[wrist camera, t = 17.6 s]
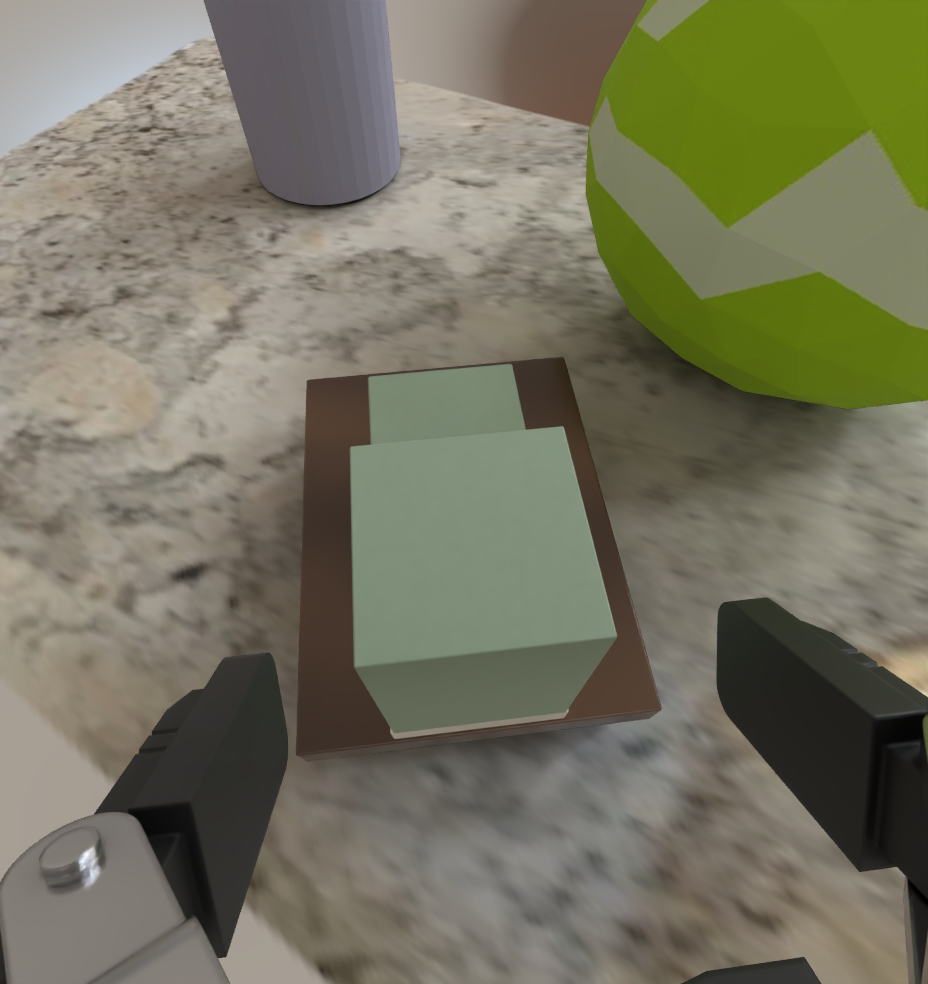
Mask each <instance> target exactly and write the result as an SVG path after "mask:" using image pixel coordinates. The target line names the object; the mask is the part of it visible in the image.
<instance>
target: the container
mask: <svg viewBox="0 0 928 984" xmlns="http://www.w3.org/2000/svg"><path fill="white" fill-rule="evenodd" d="M204 2H205V6H206V10H207V13H208V16H209V19H210V22H211V26H212V29H213V32H214V36H215V39H216V42H217V45H218V49H219V52H220V55H221V58H222V62H223V65H224V68H225V71H226V75H227V78H228V81H229V84H230V87H231V91H232V94H233V97H234V100H235V104H236V107H237V110H238V113H239V117H240V120H241V123H242V126H243V130H244V133H245V136H246V139H247V143H248V146H249V149H250V152H251V156H252V159H253V162H254V165H255V169H256V172H257V175H258V177H259V180H260V182H261V184H262V185H263V186H264V187H265V188H266V189H267V190H268V191H270V192H271V193H273V194H274V195H276V196H278V197H280V198H283V199H285V200H288V201H292V202H296V203H300V204H309V205H333V204H340V203H347V202H351V201H354V200H358V199H361V198H363V197H366V196H368V195H370V194H373V193H374V192H376V191H378V190H379V189H381V188H383V187H384V186H385V185H386V184H387V183H389V182H390V181H391V180H392V179H393V177H394V176H395V175H396V173H397V172H398V169H399V166H400V146H399V136H398V125H397V115H396V104H395V94H394V83H393V73H392V62H391V52H390V43H389V42H390V41H389V32H388V21H387V11H386V0H204Z"/></svg>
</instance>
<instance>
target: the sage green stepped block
mask: <svg viewBox="0 0 928 984" xmlns="http://www.w3.org/2000/svg"><path fill="white" fill-rule="evenodd" d="M368 394H369V418H370V442H371V445H363V446H353V447H350V493H351V547H352V600H353V654H354V668H355V670H356V672H357V673H358V675H359V676H360V678H361V680H362V681H363V683H364V685H365V686H366V688H367V690H368V691H369V693H370V695H371V696H372V698H373V700H374V701H375V703H376V705H377V706H378V708H379V709H380V711H381V713H382V714H383V716H384V718H385V719H386V721H387V723H388V724H389V726H390V733H391V735H392V736H393V738H394V739H400V738H408V737H416V736H424V735H432V734H440V733H448V732H456V731H464V730H472V729H481V728H489V727H497V726H505V725H513V724H521V723H529V722H537V721H545V720H553V719H561V718H564V717H565V716H566V715H567V713H568V711H569V709H568V708H569V707H570V705H571V704H572V702H573V701H574V699H575V698H576V696H577V695H578V693H579V692H580V691H581V689H582V688H583V686H584V685H585V683H586V682H587V680H588V679H589V677H590V676H591V675H592V673H593V672H594V670H595V669H596V667H597V666H598V664H599V663H600V661H601V660H602V658H603V657H604V656H605V654H606V653H607V651H608V650H609V648H610V647H611V645H612V644H613V642H614V641H615V640H616V638H617V633H616V629H615V625H614V621H613V618H612V614H611V610H610V606H609V602H608V598H607V594H606V590H605V586H604V582H603V579H602V575H601V571H600V567H599V563H598V559H597V555H596V551H595V547H594V543H593V540H592V536H591V532H590V528H589V524H588V520H587V516H586V512H585V508H584V504H583V500H582V497H581V493H580V489H579V485H578V481H577V477H576V473H575V469H574V465H573V461H572V458H571V454H570V450H569V446H568V442H567V438H566V434H565V430H564V427H562V426H561V427H551V428H540V429H530V430H526V428H525V423H524V419H523V414H522V409H521V405H520V400H519V395H518V391H517V386H516V381H515V377H514V372H513V367H512V365H511V364H503V365H492V366H481V367H470V368H459V369H448V370H436V371H425V372H414V373H403V374H392V375H381V376H370V377H368Z"/></svg>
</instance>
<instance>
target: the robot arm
mask: <svg viewBox="0 0 928 984" xmlns="http://www.w3.org/2000/svg"><path fill="white" fill-rule="evenodd" d="M717 689H718V694H719V698H720V701H721V704H722V706H723V708H724V710H725V712H726V714H727V716H728V717H729V718H730V719H731V721H732V722H733V723H734V724H735V725H736V727H737V728H738V729H739V730H740V731H741V732H742V734H743V735H744V736H745V737H746V738H747V740H748V741H749V742H750V743H751V744H752V745H753V747H754V748H755V749H756V750H757V751H758V753H759V754H760V755H761V756H762V757H763V758H764V760H765V761H766V762H767V763H768V764H769V766H770V767H771V768H772V769H773V770H774V771H775V773H776V774H777V775H778V776H779V777H780V779H781V780H782V781H783V782H784V783H785V784H786V786H787V787H788V788H789V789H790V790H791V792H792V793H793V794H794V795H795V796H796V797H797V799H798V800H799V801H800V802H801V803H802V805H803V806H804V807H805V808H806V809H807V810H808V812H809V813H810V814H811V815H812V816H813V818H814V819H815V820H816V821H817V822H818V823H819V825H820V826H821V827H822V828H823V829H824V831H825V832H826V833H827V834H828V835H829V836H830V838H831V839H832V840H833V841H834V842H835V844H836V845H837V846H838V847H839V848H840V849H841V851H842V852H843V853H844V854H845V855H846V857H847V858H848V859H849V860H850V861H851V862H852V864H853V865H854V866H855V867H856V868H857V870H858V871H859V872H863V871H870V870H877V869H884V868H891V867H898V868H899V869H900V870H901V871H902V872H903V874H904V875H905V884H904V894H903V905H904V920H905V935H906V950H907V965H908V980H909V984H928V697H927V696H925V695H924V694H922V693H921V692H919V691H918V690H916V689H915V688H913V687H912V686H910V685H909V684H907V683H906V682H904V681H903V680H902V679H900V678H899V677H897V676H896V675H894V674H893V673H891V672H890V671H888V670H887V669H885V668H884V667H882V666H881V667H878V665H877V662H875V661H874V660H872V659H871V658H869V657H868V656H866V655H865V654H863V653H858V651H857V649H856V648H855V647H853V646H852V645H850V644H849V643H847V642H846V641H844V640H843V639H841V638H840V637H838V636H837V635H835V634H834V633H832V632H829V631H827V630H824V629H821V628H819V627H816V626H814V625H811V624H809V623H806V622H804V621H800V620H799V619H798V618H796V617H795V616H793V615H792V614H790V613H789V612H788V611H786V610H785V609H783V608H782V607H781V606H779V605H778V604H776V603H775V602H773V601H772V600H770V599H769V598H757V599H748V600H739V601H730V602H724V603H722V604H721V606H720V608H719V611H718V624H717ZM287 758H288V735H287V728H286V722H285V717H284V711H283V705H282V700H281V694H280V688H279V683H278V677H277V672H276V666H275V662H274V659H273V657H272V655H271V654H270V653H260V654H251V655H242V656H233V657H226V658H224V659H223V660H222V661H221V663H220V664H219V666H218V667H217V669H216V670H215V672H214V674H213V675H212V677H211V678H210V680H209V681H208V683H207V685H206V686H205V688H204V689H198V690H192V691H191V692H189V693H188V694H187V695H186V696H184V697H183V698H182V699H180V700H179V701H178V702H177V703H175V704H174V705H173V706H171V707H170V708H169V709H168V710H167V711H166V712H165V714H164V715H163V716H162V718H161V719H160V721H159V722H158V724H157V725H156V726H155V728H154V729H153V731H152V735H151V736H148V738H147V739H146V741H145V742H144V744H143V745H142V746H141V748H140V749H139V754H136V755H135V756H134V758H133V759H132V761H131V762H130V764H129V765H128V766H127V768H126V769H125V771H124V772H123V774H122V775H121V776H120V778H119V779H118V781H117V782H116V783H115V785H114V786H113V788H112V789H111V791H110V792H109V793H108V795H107V796H106V798H105V799H104V801H103V802H102V804H101V805H100V806H99V808H98V809H97V811H96V812H95V813H94V815H91V816H88V817H84V818H81V819H79V820H76V821H74V822H71V823H69V824H67V825H64V826H62V827H61V828H59V829H57V830H55V831H53V832H51V833H50V834H48V835H47V836H45V837H43V838H42V839H41V840H39V841H38V842H37V843H35V844H34V845H32V846H31V847H30V848H29V849H28V850H26V851H25V852H24V853H23V854H22V855H21V856H20V857H19V858H18V859H17V860H16V861H15V862H14V863H13V864H12V865H11V867H10V868H9V869H8V871H7V872H6V873H5V875H4V877H3V878H2V880H1V882H0V984H230V982H229V980H228V978H227V976H226V974H225V972H224V970H223V968H222V966H221V964H220V962H219V960H218V958H223V957H226V956H227V953H228V950H229V947H230V943H231V940H232V937H233V934H234V930H235V927H236V924H237V921H238V918H239V915H240V912H241V909H242V906H243V902H244V899H245V896H246V893H247V890H248V887H249V884H250V880H251V877H252V874H253V871H254V868H255V865H256V862H257V858H258V855H259V852H260V849H261V846H262V843H263V839H264V836H265V833H266V830H267V827H268V824H269V821H270V817H271V814H272V811H273V808H274V805H275V802H276V799H277V795H278V792H279V789H280V786H281V783H282V780H283V776H284V773H285V770H286V765H287ZM682 984H821V982H820V981H819V979H818V978H817V976H816V975H815V973H814V971H813V970H812V968H811V967H810V965H809V964H808V962H807V960H806V959H805V957H800V958H794V959H787V960H780V961H773V962H766V963H759V964H753V965H746V966H739V967H732V968H725V969H718V970H711V971H706V972H704V973H702V974H700V975H698V976H696V977H694V978H692V979H690V980H688V981H686V982H684V983H682Z"/></svg>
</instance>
